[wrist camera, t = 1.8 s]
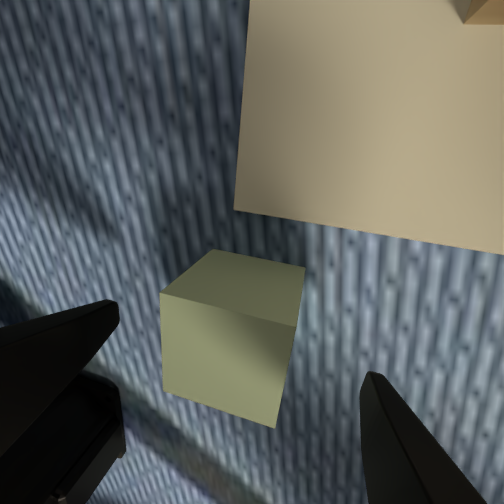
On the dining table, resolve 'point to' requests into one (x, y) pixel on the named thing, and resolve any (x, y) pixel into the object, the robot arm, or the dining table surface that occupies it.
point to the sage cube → (231, 333)
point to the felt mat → (375, 119)
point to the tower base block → (485, 12)
